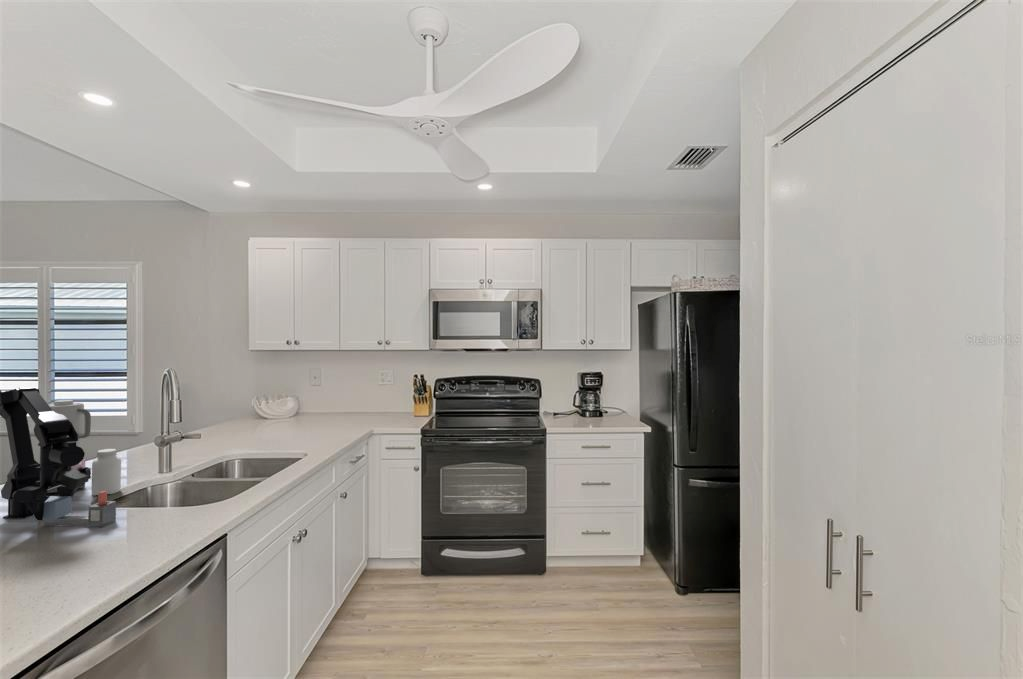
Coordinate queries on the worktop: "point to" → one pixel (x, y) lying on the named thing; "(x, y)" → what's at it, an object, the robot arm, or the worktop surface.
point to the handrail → (68, 521)
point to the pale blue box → (56, 507)
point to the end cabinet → (101, 514)
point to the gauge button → (102, 498)
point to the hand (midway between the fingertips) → (52, 515)
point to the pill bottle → (106, 472)
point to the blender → (74, 424)
